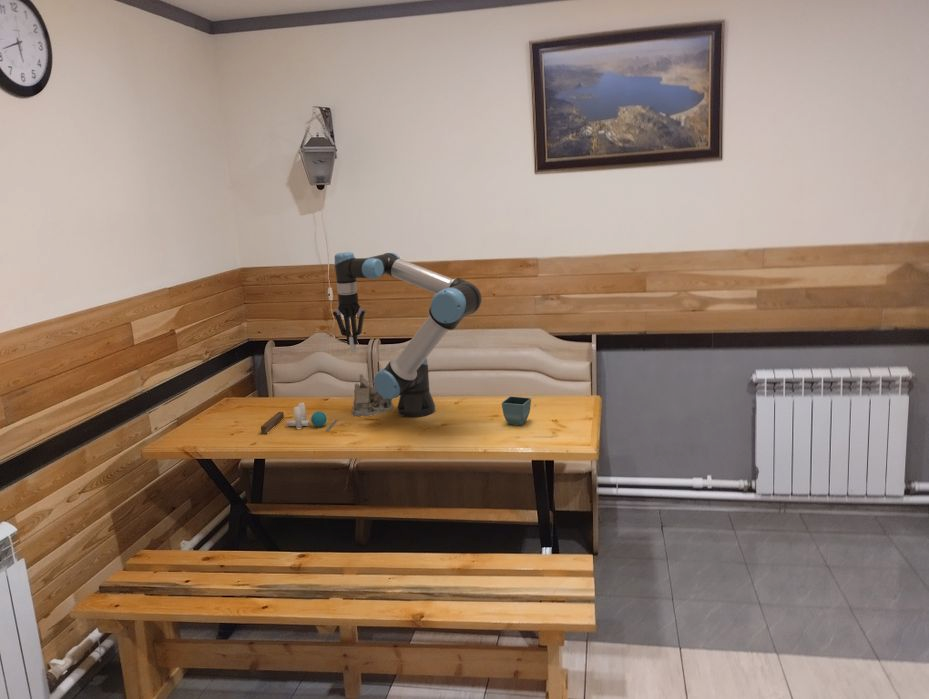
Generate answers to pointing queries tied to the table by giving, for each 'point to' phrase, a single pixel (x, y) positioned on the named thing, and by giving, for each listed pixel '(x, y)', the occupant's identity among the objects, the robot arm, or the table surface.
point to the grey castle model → (369, 400)
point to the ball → (318, 419)
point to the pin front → (292, 423)
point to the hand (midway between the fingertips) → (353, 352)
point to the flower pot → (516, 409)
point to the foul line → (331, 425)
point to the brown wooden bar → (272, 422)
